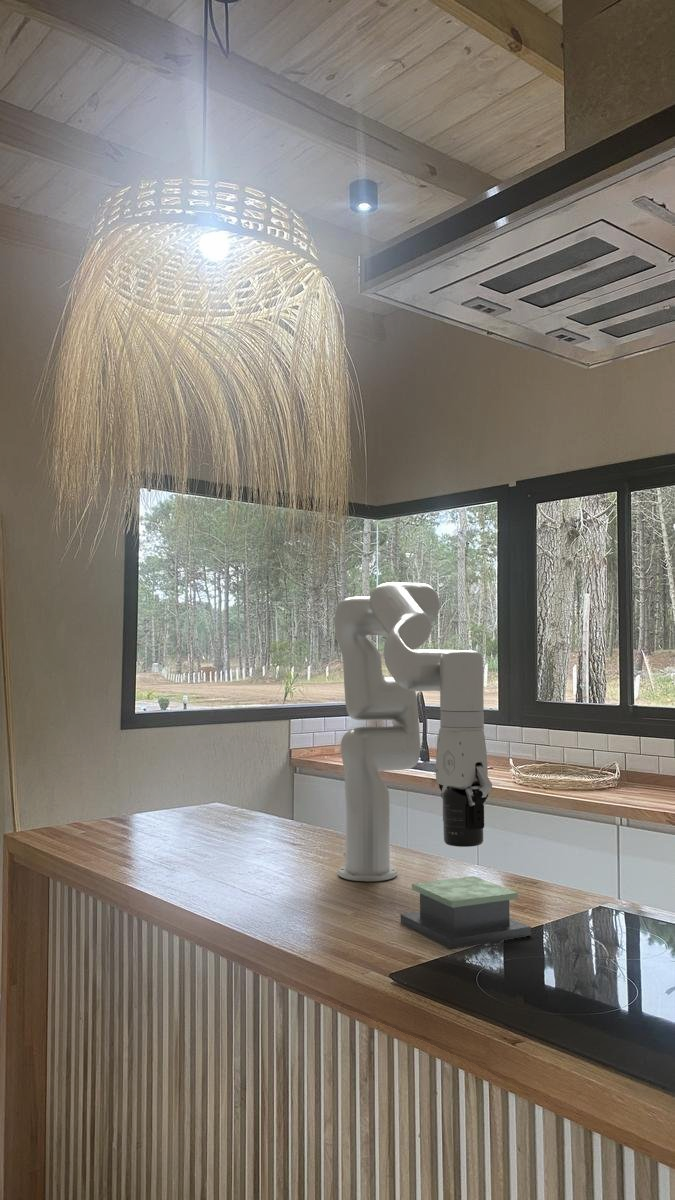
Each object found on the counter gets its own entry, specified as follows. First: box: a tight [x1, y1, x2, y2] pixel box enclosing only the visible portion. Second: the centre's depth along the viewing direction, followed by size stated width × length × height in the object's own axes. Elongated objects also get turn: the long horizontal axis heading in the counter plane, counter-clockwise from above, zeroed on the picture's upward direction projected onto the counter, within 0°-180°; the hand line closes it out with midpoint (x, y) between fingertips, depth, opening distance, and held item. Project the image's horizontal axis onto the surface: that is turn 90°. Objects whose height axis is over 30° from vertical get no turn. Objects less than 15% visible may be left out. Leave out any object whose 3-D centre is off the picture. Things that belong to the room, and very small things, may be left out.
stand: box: [400, 875, 532, 950], centre depth 155 cm, size 16×16×7 cm
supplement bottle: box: [442, 784, 484, 848], centre depth 156 cm, size 7×7×12 cm
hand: (463, 824), depth 156 cm, fingers closed on supplement bottle, 6 cm apart
